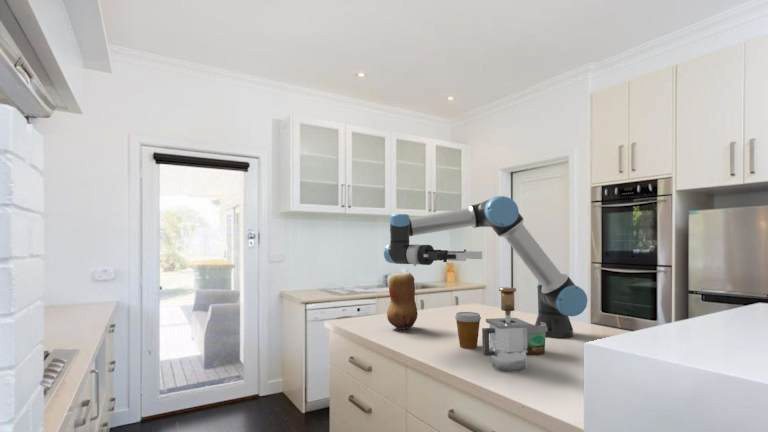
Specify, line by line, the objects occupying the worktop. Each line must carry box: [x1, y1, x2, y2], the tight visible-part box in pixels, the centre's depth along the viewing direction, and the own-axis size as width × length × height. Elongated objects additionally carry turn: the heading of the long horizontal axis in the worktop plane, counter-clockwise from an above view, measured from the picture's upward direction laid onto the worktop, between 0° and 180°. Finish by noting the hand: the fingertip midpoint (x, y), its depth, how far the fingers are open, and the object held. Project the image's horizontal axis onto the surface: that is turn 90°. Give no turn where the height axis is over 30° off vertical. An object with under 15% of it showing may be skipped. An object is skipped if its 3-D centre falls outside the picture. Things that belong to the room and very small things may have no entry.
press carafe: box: [481, 317, 533, 373], centre depth 131 cm, size 13×10×14 cm
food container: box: [526, 322, 548, 357], centre depth 145 cm, size 12×6×10 cm, turn 117°
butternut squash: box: [386, 271, 418, 330], centre depth 185 cm, size 14×13×25 cm
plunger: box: [498, 286, 517, 323], centre depth 132 cm, size 8×8×18 cm
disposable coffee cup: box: [454, 311, 482, 350], centre depth 155 cm, size 10×10×12 cm
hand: (474, 256), depth 145 cm, fingers open, 13 cm apart
